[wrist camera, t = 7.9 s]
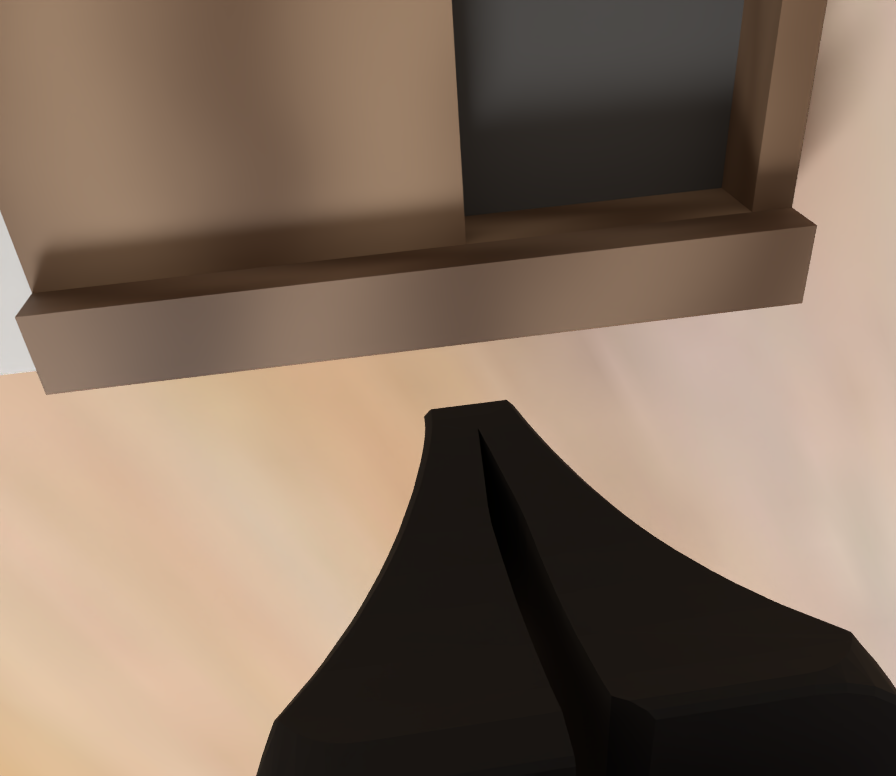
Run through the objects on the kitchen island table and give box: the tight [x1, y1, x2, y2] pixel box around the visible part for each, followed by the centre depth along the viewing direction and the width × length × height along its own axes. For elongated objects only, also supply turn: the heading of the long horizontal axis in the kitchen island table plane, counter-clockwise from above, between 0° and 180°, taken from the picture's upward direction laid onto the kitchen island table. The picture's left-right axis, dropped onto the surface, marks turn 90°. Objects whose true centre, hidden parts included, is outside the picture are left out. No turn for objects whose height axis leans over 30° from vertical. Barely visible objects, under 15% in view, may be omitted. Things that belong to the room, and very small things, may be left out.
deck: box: [0, 0, 827, 395], centre depth 17 cm, size 26×13×3 cm, turn 94°
